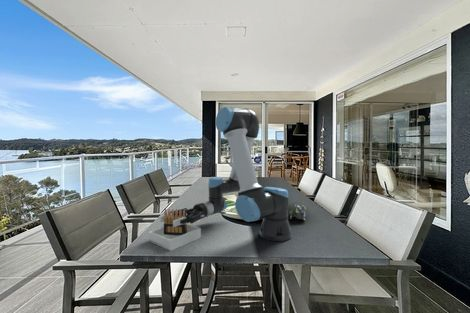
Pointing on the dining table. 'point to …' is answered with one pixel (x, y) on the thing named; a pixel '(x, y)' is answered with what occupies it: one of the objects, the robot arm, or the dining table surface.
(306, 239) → the dining table surface
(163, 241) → the tray
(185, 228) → the ammunition clip
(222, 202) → the robot arm
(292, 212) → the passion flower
